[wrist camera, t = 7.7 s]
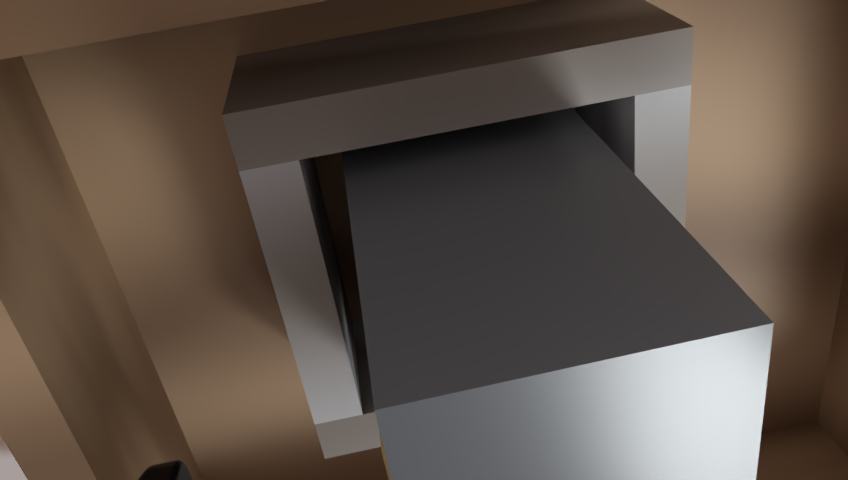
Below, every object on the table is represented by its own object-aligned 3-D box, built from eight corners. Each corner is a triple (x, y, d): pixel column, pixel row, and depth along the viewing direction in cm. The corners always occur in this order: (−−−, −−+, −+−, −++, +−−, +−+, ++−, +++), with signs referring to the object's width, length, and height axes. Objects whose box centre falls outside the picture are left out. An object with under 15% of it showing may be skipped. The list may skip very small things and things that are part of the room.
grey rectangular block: (557, 251, 16) (749, 573, 9) (373, 291, 16) (430, 648, 9) (545, 76, 14) (778, 321, 7) (334, 118, 14) (369, 411, 7)
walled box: (825, 414, 22) (955, 563, 17) (209, 549, 21) (186, 742, 16) (943, -230, 13) (1245, -250, 9) (-65, -56, 12) (-255, 10, 8)
